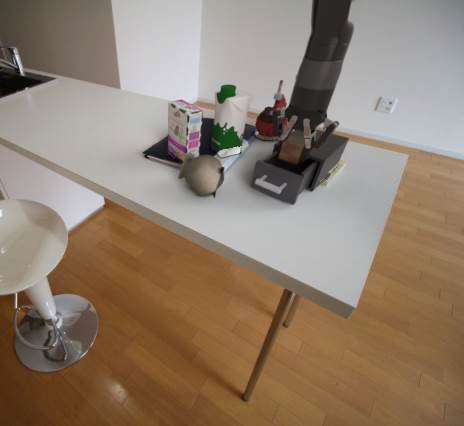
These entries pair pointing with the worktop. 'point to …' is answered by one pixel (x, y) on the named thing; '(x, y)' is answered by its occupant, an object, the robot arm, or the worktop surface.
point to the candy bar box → (184, 128)
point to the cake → (266, 120)
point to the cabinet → (323, 154)
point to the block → (292, 149)
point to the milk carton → (230, 116)
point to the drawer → (283, 177)
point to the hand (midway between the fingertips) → (291, 156)
